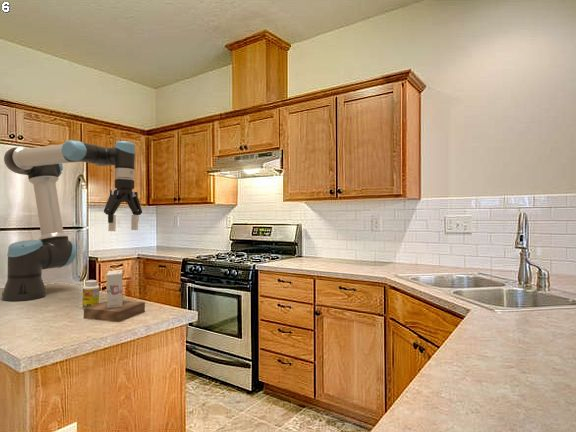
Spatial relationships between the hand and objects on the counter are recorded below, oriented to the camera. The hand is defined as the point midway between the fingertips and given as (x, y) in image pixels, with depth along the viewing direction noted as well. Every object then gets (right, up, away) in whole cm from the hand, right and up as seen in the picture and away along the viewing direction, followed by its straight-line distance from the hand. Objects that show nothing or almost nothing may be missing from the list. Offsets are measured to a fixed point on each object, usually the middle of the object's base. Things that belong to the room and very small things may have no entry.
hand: (123, 230), depth 155 cm
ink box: (+7, -26, -22) cm, 35 cm away
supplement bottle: (-6, -29, -14) cm, 33 cm away
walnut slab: (+7, -30, -22) cm, 38 cm away
